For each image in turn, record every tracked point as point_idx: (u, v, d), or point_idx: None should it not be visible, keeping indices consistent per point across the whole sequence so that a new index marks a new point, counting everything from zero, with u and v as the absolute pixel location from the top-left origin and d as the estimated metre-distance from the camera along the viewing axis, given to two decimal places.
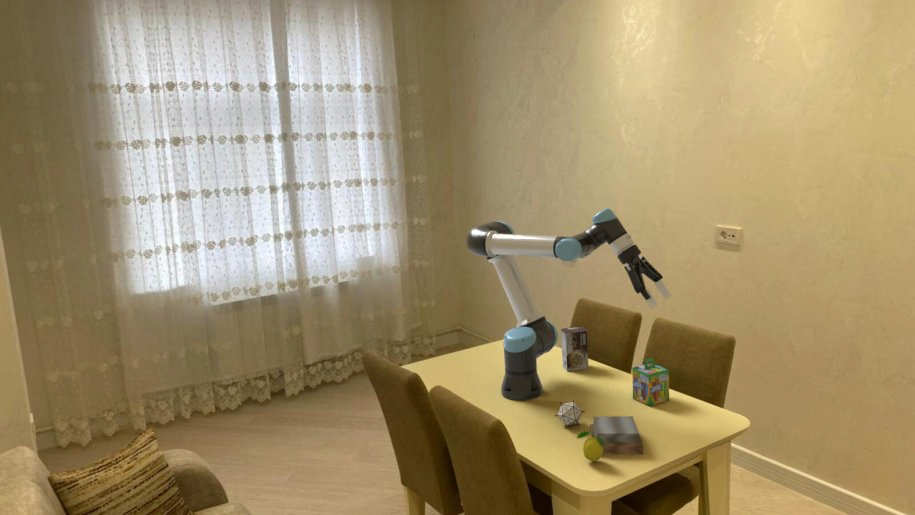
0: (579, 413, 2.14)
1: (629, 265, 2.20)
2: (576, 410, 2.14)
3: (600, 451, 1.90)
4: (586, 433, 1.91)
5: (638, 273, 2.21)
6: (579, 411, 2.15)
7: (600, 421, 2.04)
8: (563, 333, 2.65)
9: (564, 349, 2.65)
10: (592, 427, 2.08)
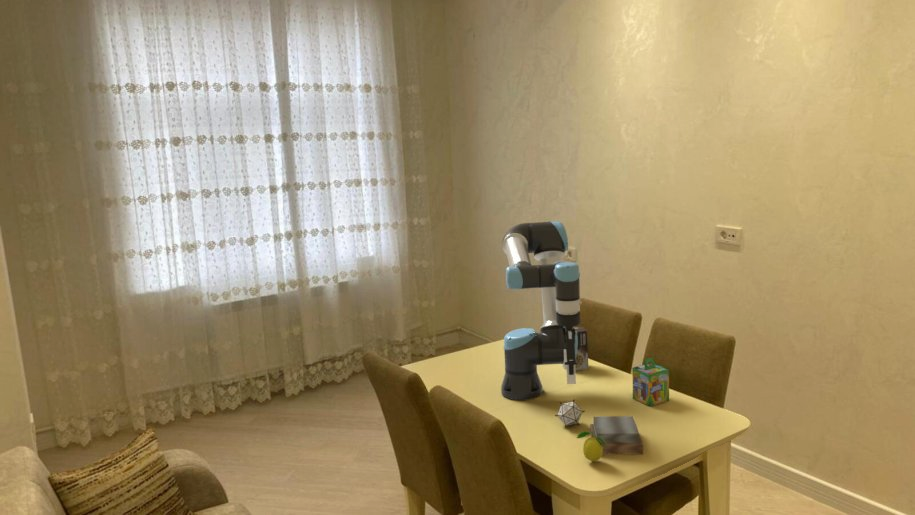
0: (579, 413, 2.14)
1: (572, 334, 2.05)
2: (576, 410, 2.14)
3: (600, 451, 1.90)
4: (586, 433, 1.91)
5: None
6: (579, 411, 2.15)
7: (600, 421, 2.04)
8: None
9: None
10: (592, 427, 2.08)
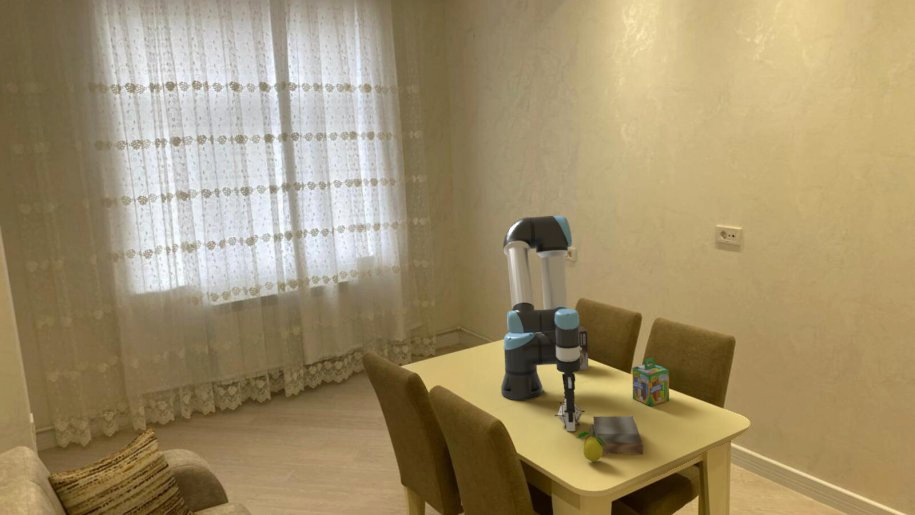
0: (579, 413, 2.14)
1: (572, 384, 2.07)
2: (576, 410, 2.14)
3: (600, 451, 1.90)
4: (586, 433, 1.91)
5: None
6: (579, 411, 2.15)
7: (600, 421, 2.04)
8: None
9: None
10: (592, 427, 2.08)
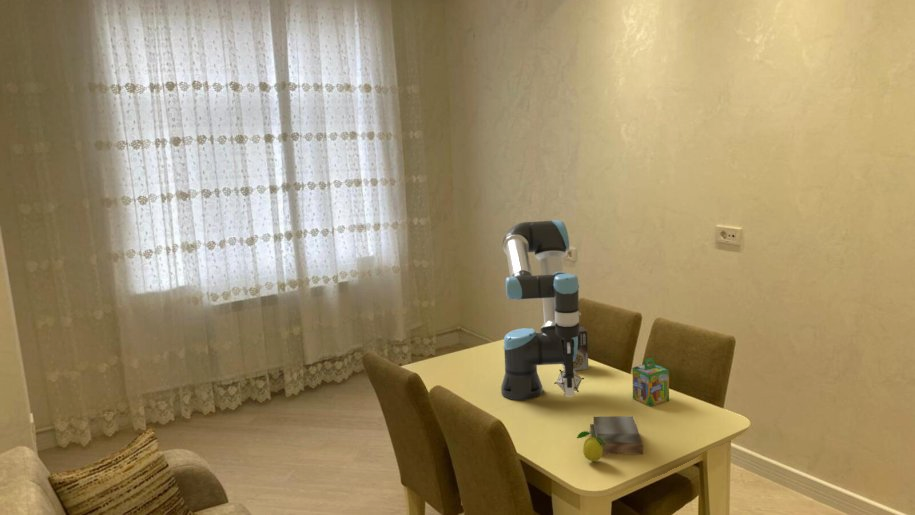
0: (579, 380, 2.13)
1: (571, 349, 2.05)
2: (575, 377, 2.12)
3: (600, 451, 1.90)
4: (586, 433, 1.91)
5: None
6: (579, 378, 2.13)
7: (600, 421, 2.04)
8: None
9: None
10: (592, 427, 2.08)
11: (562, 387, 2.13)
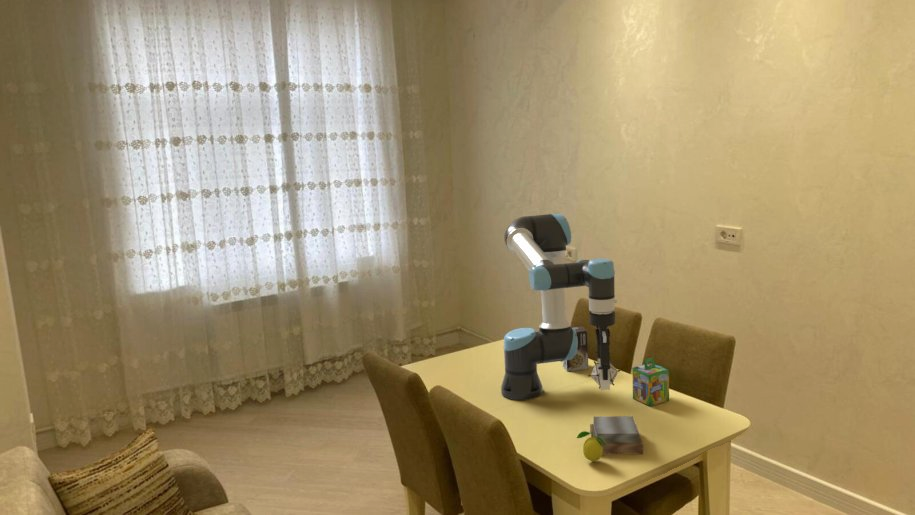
0: (615, 372, 2.00)
1: (607, 338, 1.93)
2: (611, 369, 1.99)
3: (600, 451, 1.90)
4: (586, 433, 1.91)
5: None
6: (614, 370, 2.00)
7: (600, 421, 2.04)
8: None
9: None
10: (592, 427, 2.08)
11: (597, 380, 2.00)
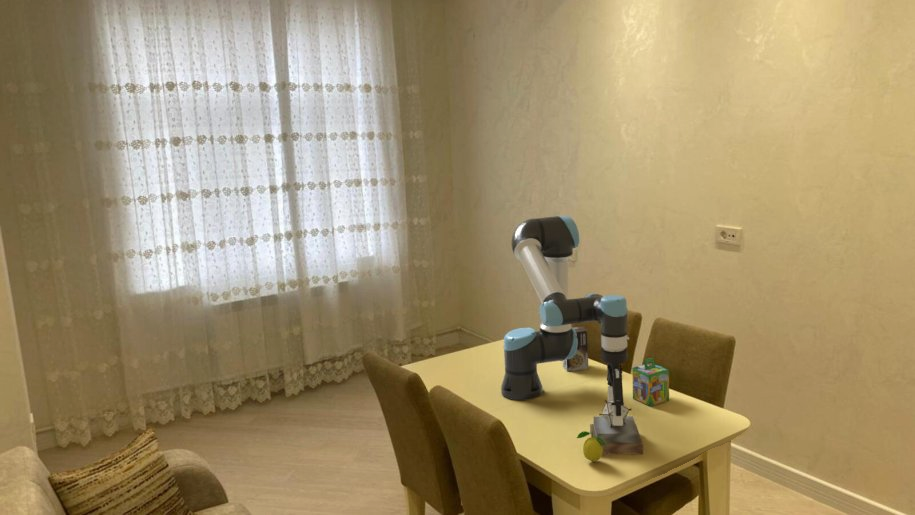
0: (626, 411, 1.99)
1: (620, 373, 1.92)
2: (623, 408, 1.99)
3: (600, 451, 1.90)
4: (586, 433, 1.91)
5: None
6: (626, 409, 2.00)
7: (600, 421, 2.04)
8: None
9: None
10: (592, 427, 2.08)
11: (608, 419, 2.00)
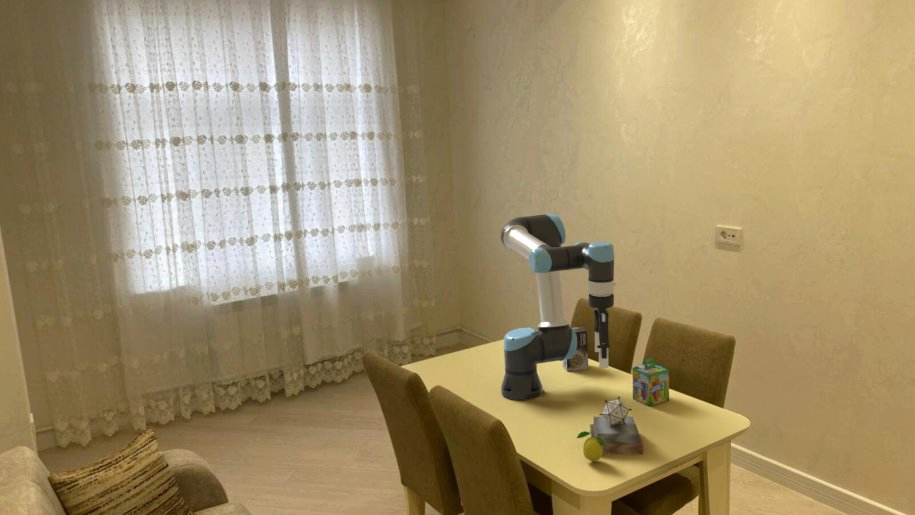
0: (626, 411, 1.99)
1: (606, 317, 1.97)
2: (623, 408, 1.99)
3: (600, 451, 1.90)
4: (586, 433, 1.91)
5: None
6: (626, 409, 2.00)
7: (600, 421, 2.04)
8: None
9: None
10: (592, 427, 2.08)
11: (608, 419, 2.00)
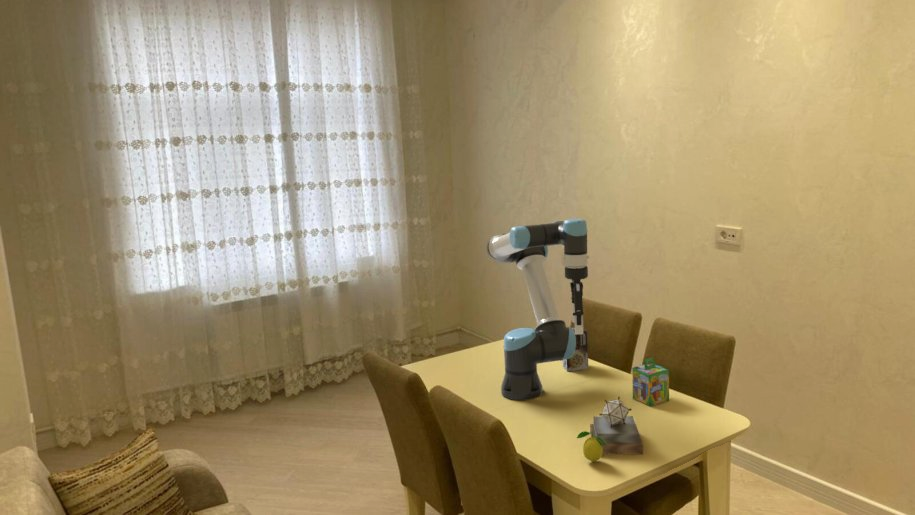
0: (626, 411, 1.99)
1: (580, 286, 2.14)
2: (623, 408, 1.99)
3: (600, 451, 1.90)
4: (586, 433, 1.91)
5: None
6: (626, 409, 2.00)
7: (600, 421, 2.04)
8: None
9: None
10: (592, 427, 2.08)
11: (608, 419, 2.00)
